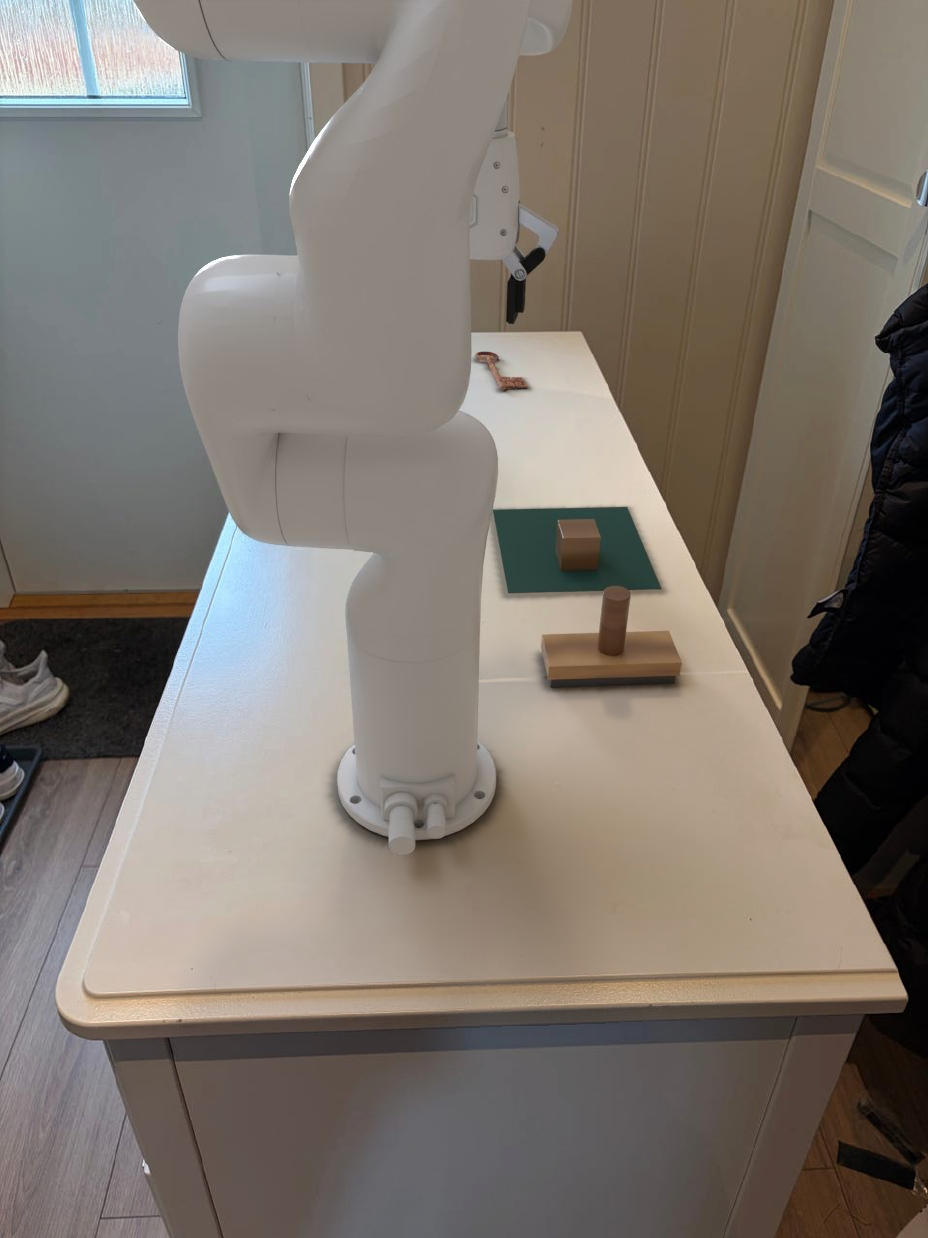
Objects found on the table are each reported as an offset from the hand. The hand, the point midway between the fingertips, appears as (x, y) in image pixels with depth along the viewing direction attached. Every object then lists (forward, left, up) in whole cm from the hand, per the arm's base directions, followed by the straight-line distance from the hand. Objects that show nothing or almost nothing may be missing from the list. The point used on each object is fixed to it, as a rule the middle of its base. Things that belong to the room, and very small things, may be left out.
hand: (461, 315), depth 93 cm
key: (+55, -10, -26) cm, 61 cm away
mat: (+1, -13, -26) cm, 29 cm away
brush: (-21, -13, -26) cm, 36 cm away
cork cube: (-2, -13, -26) cm, 29 cm away
